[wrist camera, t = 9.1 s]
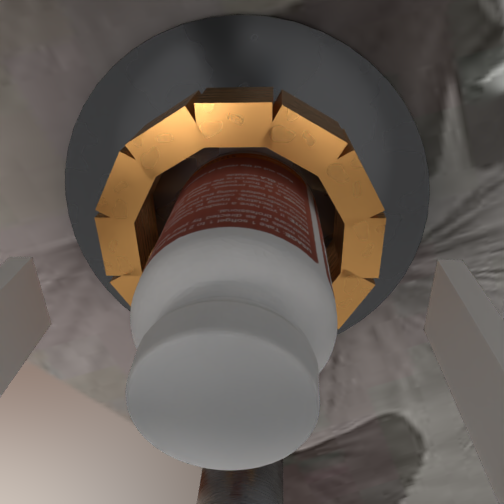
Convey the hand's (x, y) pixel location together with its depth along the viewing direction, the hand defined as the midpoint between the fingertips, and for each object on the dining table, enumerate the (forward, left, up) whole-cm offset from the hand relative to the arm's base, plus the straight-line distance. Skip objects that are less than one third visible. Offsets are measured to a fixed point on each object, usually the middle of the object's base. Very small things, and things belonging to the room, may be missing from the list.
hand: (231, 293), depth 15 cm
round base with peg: (+2, 0, -7) cm, 7 cm away
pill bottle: (0, 0, -6) cm, 6 cm away
